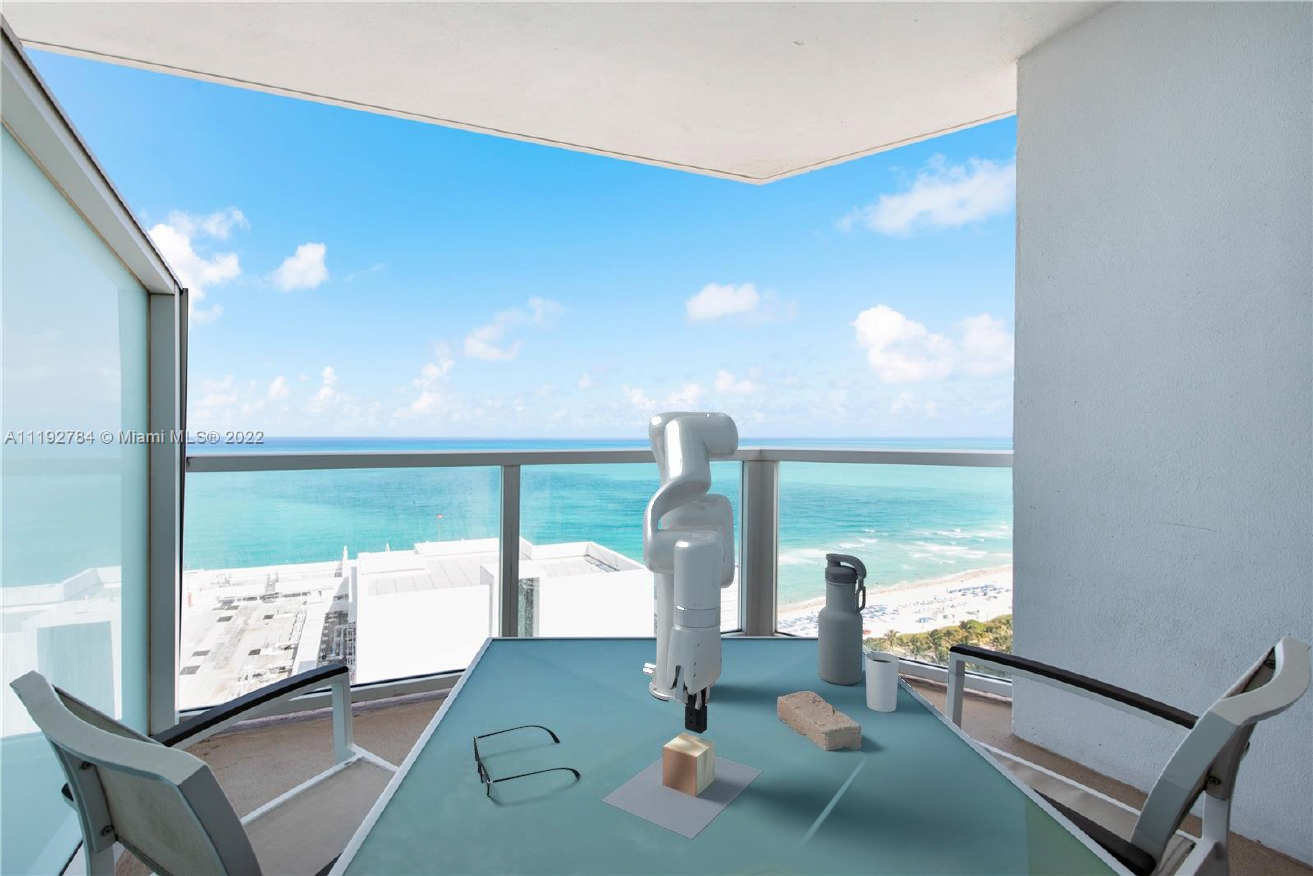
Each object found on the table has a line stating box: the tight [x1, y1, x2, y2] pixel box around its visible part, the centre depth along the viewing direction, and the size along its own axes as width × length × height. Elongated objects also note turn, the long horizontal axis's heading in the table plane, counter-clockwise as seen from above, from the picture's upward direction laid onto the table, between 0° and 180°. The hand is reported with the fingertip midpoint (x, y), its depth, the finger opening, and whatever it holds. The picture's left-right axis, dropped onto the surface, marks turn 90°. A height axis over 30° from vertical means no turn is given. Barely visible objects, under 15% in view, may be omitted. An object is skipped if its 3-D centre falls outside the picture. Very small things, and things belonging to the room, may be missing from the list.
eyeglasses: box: [472, 724, 581, 796], centre depth 108 cm, size 16×16×4 cm
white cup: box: [864, 651, 900, 713], centre depth 134 cm, size 7×7×10 cm
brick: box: [776, 690, 863, 752], centre depth 123 cm, size 16×8×5 cm, turn 21°
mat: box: [600, 754, 764, 840], centre depth 102 cm, size 16×22×1 cm
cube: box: [662, 731, 716, 797], centre depth 103 cm, size 6×6×6 cm
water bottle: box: [817, 553, 868, 686], centre depth 149 cm, size 10×10×28 cm
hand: (695, 729), depth 105 cm, fingers closed
